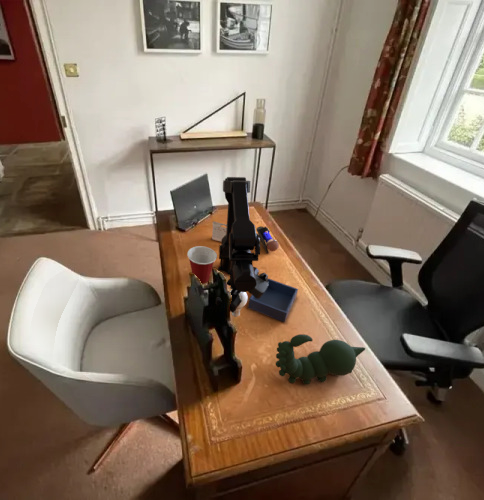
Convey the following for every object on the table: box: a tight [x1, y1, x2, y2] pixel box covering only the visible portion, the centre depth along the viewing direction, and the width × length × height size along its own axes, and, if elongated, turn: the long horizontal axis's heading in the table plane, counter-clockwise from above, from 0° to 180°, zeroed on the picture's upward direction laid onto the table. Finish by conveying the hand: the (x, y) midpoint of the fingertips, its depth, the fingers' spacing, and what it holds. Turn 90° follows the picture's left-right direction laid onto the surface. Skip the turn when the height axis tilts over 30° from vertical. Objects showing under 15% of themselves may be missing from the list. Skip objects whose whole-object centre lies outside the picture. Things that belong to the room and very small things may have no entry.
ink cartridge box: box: [211, 221, 227, 243], centre depth 139 cm, size 2×11×10 cm, turn 67°
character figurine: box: [255, 226, 279, 254], centre depth 138 cm, size 8×7×15 cm
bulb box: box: [247, 278, 299, 323], centre depth 111 cm, size 13×13×4 cm
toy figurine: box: [275, 333, 366, 386], centre depth 85 cm, size 9×19×25 cm
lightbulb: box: [229, 289, 249, 318], centre depth 100 cm, size 6×6×11 cm
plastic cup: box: [186, 245, 218, 285], centre depth 118 cm, size 11×11×12 cm
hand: (236, 305), depth 100 cm, fingers closed on lightbulb, 6 cm apart
